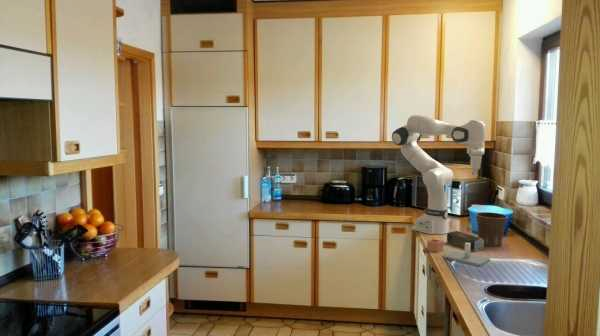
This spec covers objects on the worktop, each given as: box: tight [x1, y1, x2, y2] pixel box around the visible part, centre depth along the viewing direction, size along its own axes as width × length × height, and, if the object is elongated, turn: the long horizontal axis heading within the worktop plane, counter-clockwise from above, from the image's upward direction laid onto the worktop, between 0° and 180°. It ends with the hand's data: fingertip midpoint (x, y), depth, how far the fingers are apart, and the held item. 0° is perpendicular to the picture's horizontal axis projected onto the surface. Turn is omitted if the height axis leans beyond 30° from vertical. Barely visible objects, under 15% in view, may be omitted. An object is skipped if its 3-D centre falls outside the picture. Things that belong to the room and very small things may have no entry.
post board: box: [443, 243, 491, 267], centre depth 224 cm, size 18×12×8 cm, turn 47°
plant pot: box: [475, 211, 509, 247], centre depth 253 cm, size 16×16×16 cm
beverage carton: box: [446, 230, 485, 252], centre depth 248 cm, size 8×19×7 cm, turn 30°
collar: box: [426, 238, 444, 253], centre depth 240 cm, size 6×6×5 cm
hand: (474, 175), depth 249 cm, fingers open, 8 cm apart
